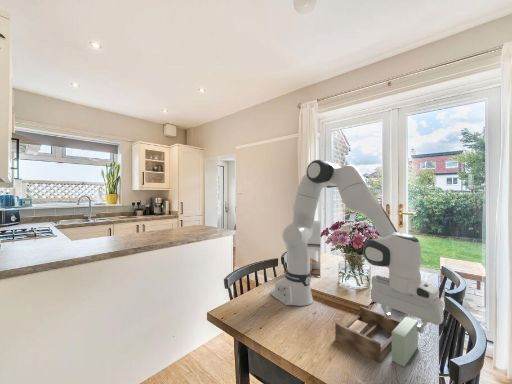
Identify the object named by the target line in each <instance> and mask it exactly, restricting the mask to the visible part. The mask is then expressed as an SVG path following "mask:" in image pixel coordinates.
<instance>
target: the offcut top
mask: <svg viewBox="0 0 512 384" xmlns="http://www.w3.org/2000/svg"><path fill="white" fill-rule="evenodd" d="M368 325H369V324H367V323H364V322H362V321H359V320H356V321H355V322H354V323H353V324H352V325H351V326H350V327H349V329H352V330H354V331H356V332H358V333H360V334H362V333H363V332H364V331H365V330H366V328H367V327H369V326H368Z"/></svg>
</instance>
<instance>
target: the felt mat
mask: <svg viewBox="0 0 512 384" xmlns="http://www.w3.org/2000/svg"><path fill="white" fill-rule="evenodd" d="M419 352H420V350H419V349H416V351H415V352H414V354H413V355H412V357H411V358H410V359H409V361H408V362H407V364H406V365H407V366H411V365H412V363H413V361H414V360H415V358H416V357H417V356H418V354H419Z"/></svg>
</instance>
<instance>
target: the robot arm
mask: <svg viewBox="0 0 512 384" xmlns="http://www.w3.org/2000/svg"><path fill="white" fill-rule="evenodd" d="M325 187H326V188H327V189H330V188H337V190H338V193H339V196H340V199H341V201H342V202H343V204H344V205H345V207H346V208H347V209H349V210H350V211H353V212H356V213H359V214H362V215H363V216H365V217H367V218H368V219H369V220H370V221H371V222H372V224H373V226H374V227H375V229H376V231H377V232H378V234H379V236H380V237H379V238H373V239H368V240H366V242H364V244H363V247H362V254H363V257H364V259H365V261H367V262H368V263H369V264H370V265H371V266H375V267H382V268H383V267H385V268H388V277H385V276H381V275H377V274H376V275H373V276H372V277H371V281H370V282H371V285H372V286H371V289H370V290H371V299H372V301H374V302H375V303H377V304H380V305H381V310H382V311H383V313H384V315H385V318H386V319H389V320H390V319H391V318H392V313H391V312H389V310H388V308H390V309H393V310H395V311H398V312H401V313H403V314H406V315H409V316H411V317H414V318H417V319H420V321H421V322H420V323H422V324H419V323H418V325H417V331H418V333H421V334H423V333H424V332H425V326H427V325H428V323H430V324H432V325H436V326H439V325H441V324H442V323H443V322H444V308H443V307H444V306H443V302H442V300H441V298H440V297H439V295H440V290H439V288H437V287H436V286H434V285H433V284H430V283H428V282H427V281H426V280H424V279H422V275H421V270H420V269H421V265H422V249H421V248H422V247H421V243H420V240H419V239H418V238H417V237H416V236H415V235H411V234H409V233H405V232H399V231H398V230H397V228H396V227H395V226H394V224H393V222H392V220H391V218H390V217H389V215H388V214H387V212H386V211H385V209H384V207H383V206H382V205H381V203H379V201H378V200H377V199H376V197H375V196H374V195H373V192H372V191H371V189H370V188H369V186H368V184H367V182H366V179H365V178H364V176H363V175H362V173H361V172H360V170H359V169H358V168H357V167H356V165H353V164H345V165H339V164H338V163H337V164H336V163H335V162H333V161H327V160H323V159H314V160H312V161H311V162H309V164H308V165H307V168H306V174H305V175H303V176H302V178H301V180H300V183H299V185H298V187H297V191H296V194H295V199H294V203H293V218H292V219H293V221H292V223H290V224H288V225H286V227H284V230H283V232H282V240H283V242H284V244H285V250H286V254H287V269H286V270H284V271H283V274H284V276H283V277H281V278H280V279H279V280H277V281H276V282H275V283H274V284H275V285H274V288H273V289H272V290H271V291H270V293H269V294H270V295H271V296H273V297H274V298H275V299H277V300H278V301H279V302H281V303H282V304H284V305H285V306H295V307H296V306H300V307H305V306H308V305H309V306H310V305H311V304H313V302H314V298H313V294H312V289H311V280H312V279H311V272H310V256H309V253H308V247H307V240H309V239H310V238H311V236H312V232H313V226H314V221H315V216H316V212H317V207H318V203H319V199H320V195H321V192H322V190H323V188H325Z"/></svg>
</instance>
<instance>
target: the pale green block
mask: <svg viewBox="0 0 512 384" xmlns="http://www.w3.org/2000/svg"><path fill="white" fill-rule="evenodd" d="M400 321H401V322H400V323H399V324H398V326H397V327H396V328H395V329H394V330H393V331H392V334H391V336H392V349H391V361H392V362H394V363H396V364H398V365H400V366H402V367H406V365H408V364H407V362H408V361H409V359H410V358H411V357H412V355H413V354H414V352H415V351H416V350H418V347H419V332H418V331H417V325H418V324H419V321H418V320H417V319H415V318H413V317H412V318H411V317H409V316H405V317H404V318H403V319H402V320H400Z"/></svg>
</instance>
